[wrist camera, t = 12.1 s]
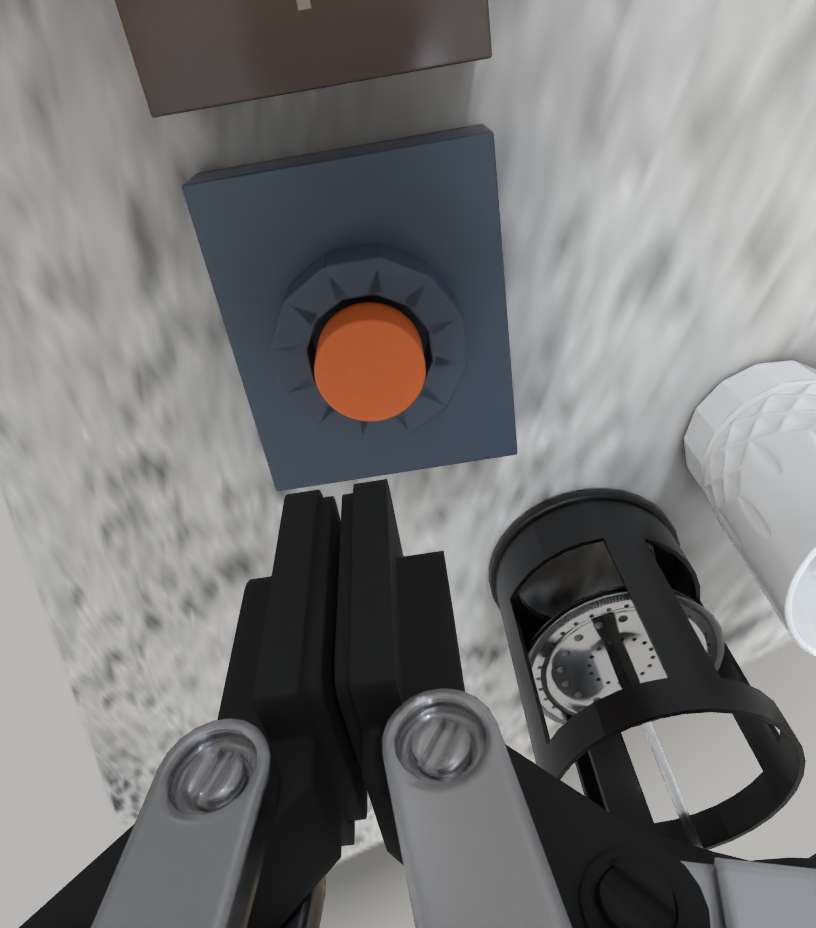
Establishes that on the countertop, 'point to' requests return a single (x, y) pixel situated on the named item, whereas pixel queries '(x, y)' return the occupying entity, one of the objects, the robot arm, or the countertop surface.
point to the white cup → (765, 481)
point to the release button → (369, 362)
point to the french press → (634, 670)
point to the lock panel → (290, 45)
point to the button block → (364, 296)
